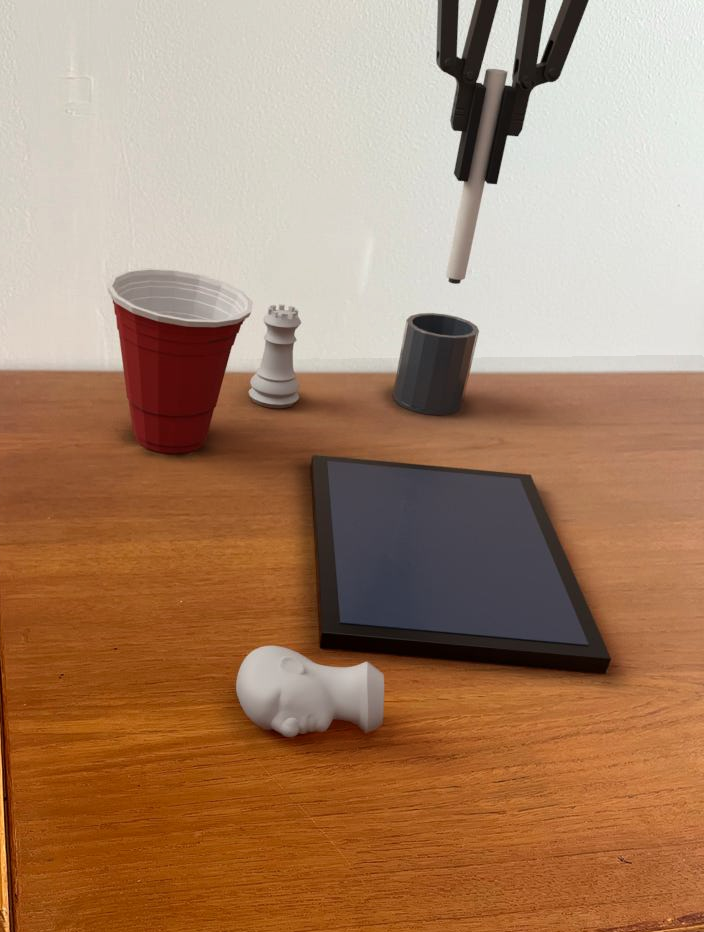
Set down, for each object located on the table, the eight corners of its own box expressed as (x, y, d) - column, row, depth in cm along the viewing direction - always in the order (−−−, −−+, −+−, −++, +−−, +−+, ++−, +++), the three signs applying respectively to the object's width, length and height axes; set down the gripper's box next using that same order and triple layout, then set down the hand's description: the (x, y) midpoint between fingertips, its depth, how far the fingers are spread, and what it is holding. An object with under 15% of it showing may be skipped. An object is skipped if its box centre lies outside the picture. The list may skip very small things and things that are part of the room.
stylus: (462, 280, 87) (505, 69, 78) (465, 285, 85) (509, 72, 76) (443, 278, 87) (484, 68, 78) (445, 284, 85) (488, 70, 76)
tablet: (527, 488, 80) (531, 473, 80) (605, 674, 61) (612, 657, 60) (310, 468, 80) (312, 453, 80) (319, 648, 61) (322, 631, 60)
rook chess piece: (300, 393, 93) (311, 304, 88) (296, 412, 89) (307, 321, 84) (251, 387, 93) (260, 297, 88) (244, 406, 89) (253, 314, 85)
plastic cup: (220, 480, 77) (233, 322, 70) (84, 453, 79) (84, 297, 72) (254, 425, 86) (269, 279, 79) (131, 402, 88) (135, 258, 81)
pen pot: (456, 391, 96) (472, 316, 92) (466, 418, 91) (483, 340, 87) (390, 385, 96) (403, 310, 92) (396, 411, 91) (410, 333, 87)
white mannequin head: (222, 741, 55) (250, 667, 58) (369, 778, 53) (390, 700, 56) (219, 695, 52) (249, 619, 55) (376, 733, 50) (398, 652, 53)
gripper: (448, -222, 65) (386, 180, 78) (681, -201, 65) (578, 198, 78) (435, -211, 71) (379, 161, 84) (647, -191, 71) (557, 177, 84)
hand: (475, 178), depth 81 cm, fingers closed on stylus, 2 cm apart
